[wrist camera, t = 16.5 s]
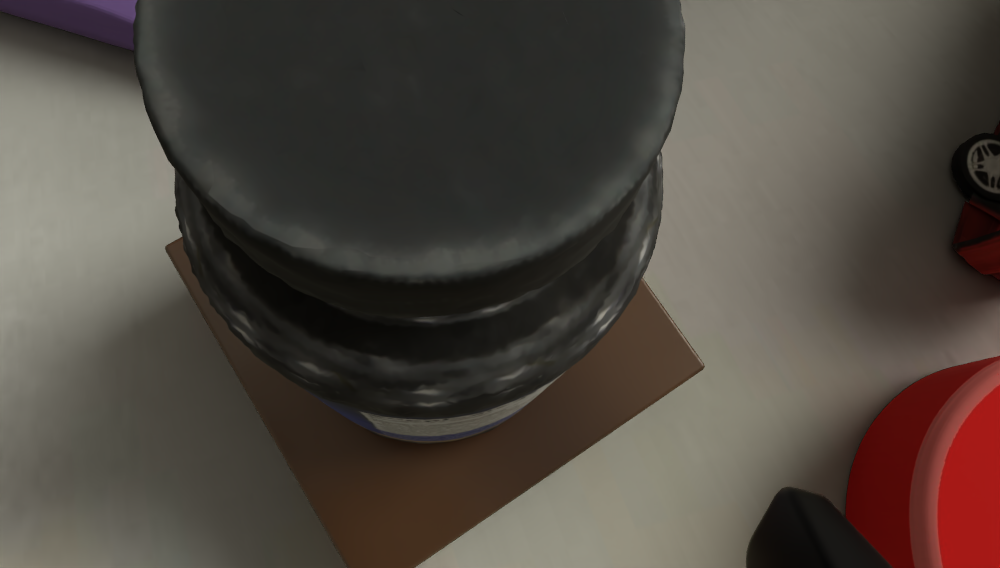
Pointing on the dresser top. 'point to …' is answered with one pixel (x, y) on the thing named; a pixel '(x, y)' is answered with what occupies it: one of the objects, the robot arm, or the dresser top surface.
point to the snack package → (81, 17)
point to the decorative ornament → (933, 472)
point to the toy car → (979, 202)
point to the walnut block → (457, 464)
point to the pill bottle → (415, 187)
